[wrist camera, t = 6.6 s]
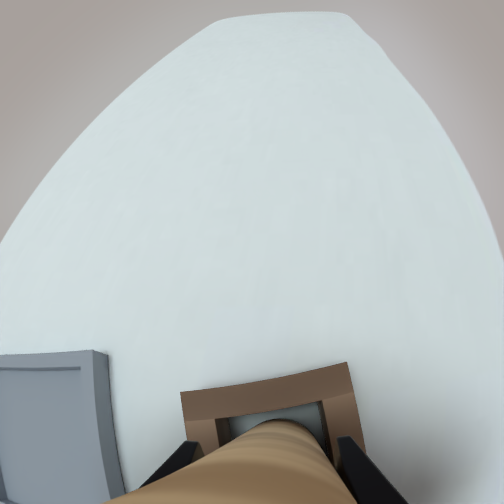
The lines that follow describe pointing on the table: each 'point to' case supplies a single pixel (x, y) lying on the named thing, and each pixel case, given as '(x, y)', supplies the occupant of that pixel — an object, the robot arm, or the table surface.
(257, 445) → the oak dowel
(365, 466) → the robot arm
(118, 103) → the table surface
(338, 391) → the walnut holder
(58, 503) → the plastic tray
